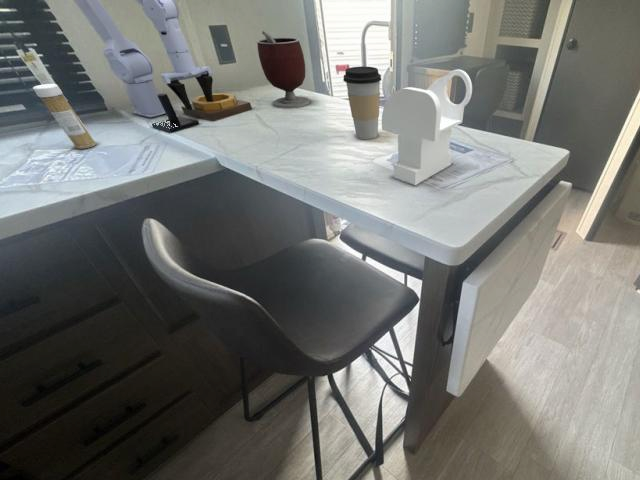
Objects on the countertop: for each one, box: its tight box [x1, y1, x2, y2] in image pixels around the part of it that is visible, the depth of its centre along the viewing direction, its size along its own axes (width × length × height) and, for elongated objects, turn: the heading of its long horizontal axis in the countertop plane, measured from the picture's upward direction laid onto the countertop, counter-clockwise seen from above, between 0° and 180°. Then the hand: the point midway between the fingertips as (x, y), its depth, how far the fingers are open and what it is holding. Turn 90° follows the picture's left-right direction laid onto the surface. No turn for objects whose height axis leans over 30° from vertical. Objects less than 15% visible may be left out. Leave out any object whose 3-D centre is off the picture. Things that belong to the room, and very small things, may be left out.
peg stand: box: [151, 93, 200, 134], centre depth 90 cm, size 9×9×8 cm
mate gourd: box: [256, 30, 310, 109], centre depth 102 cm, size 16×14×20 cm
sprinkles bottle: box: [32, 83, 97, 150], centre depth 77 cm, size 5×5×14 cm
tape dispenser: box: [381, 68, 473, 186], centre depth 64 cm, size 14×13×18 cm
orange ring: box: [190, 92, 238, 110], centre depth 101 cm, size 13×13×2 cm
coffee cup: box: [342, 66, 382, 140], centre depth 81 cm, size 9×9×15 cm
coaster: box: [180, 99, 253, 122], centre depth 103 cm, size 15×15×2 cm
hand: (200, 106), depth 98 cm, fingers open, 7 cm apart
